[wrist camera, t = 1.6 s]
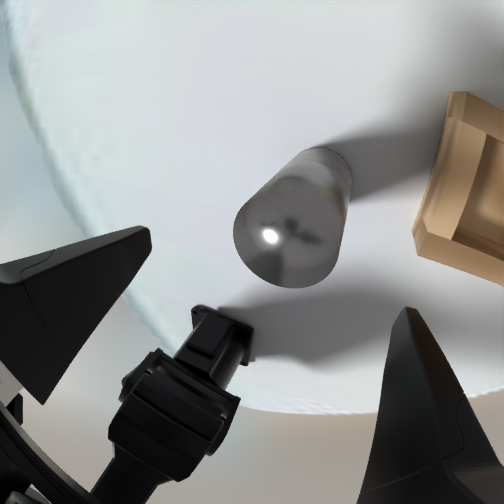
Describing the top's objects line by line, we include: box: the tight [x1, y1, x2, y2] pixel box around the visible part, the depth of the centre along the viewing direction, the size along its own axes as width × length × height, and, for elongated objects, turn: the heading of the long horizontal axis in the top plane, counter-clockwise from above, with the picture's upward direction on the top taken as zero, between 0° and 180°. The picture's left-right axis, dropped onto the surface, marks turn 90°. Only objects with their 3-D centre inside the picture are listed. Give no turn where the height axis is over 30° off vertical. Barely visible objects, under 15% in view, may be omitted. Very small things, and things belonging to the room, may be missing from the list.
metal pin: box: [233, 147, 352, 288], centre depth 13 cm, size 4×4×8 cm
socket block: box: [412, 92, 504, 286], centre depth 11 cm, size 9×9×3 cm
